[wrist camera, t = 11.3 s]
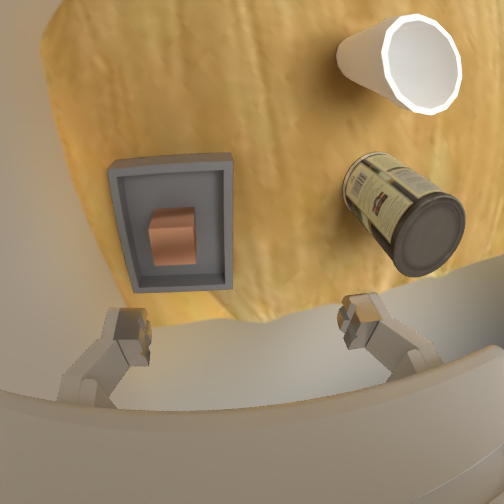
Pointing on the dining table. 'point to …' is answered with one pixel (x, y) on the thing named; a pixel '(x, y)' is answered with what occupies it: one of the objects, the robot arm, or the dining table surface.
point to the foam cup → (404, 62)
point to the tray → (173, 196)
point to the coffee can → (404, 213)
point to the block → (173, 236)
